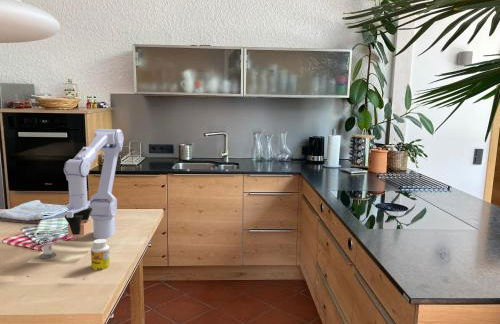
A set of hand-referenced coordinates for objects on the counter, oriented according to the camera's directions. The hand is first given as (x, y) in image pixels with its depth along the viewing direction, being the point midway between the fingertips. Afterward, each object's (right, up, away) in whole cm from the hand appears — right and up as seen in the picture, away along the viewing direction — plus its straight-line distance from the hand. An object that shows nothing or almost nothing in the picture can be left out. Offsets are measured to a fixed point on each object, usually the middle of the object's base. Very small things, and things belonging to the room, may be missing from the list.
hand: (79, 231), depth 137 cm
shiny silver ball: (-10, -9, -3) cm, 14 cm away
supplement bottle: (+11, -11, -10) cm, 19 cm away
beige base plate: (-6, -9, +1) cm, 10 cm away
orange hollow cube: (0, -1, 0) cm, 1 cm away
